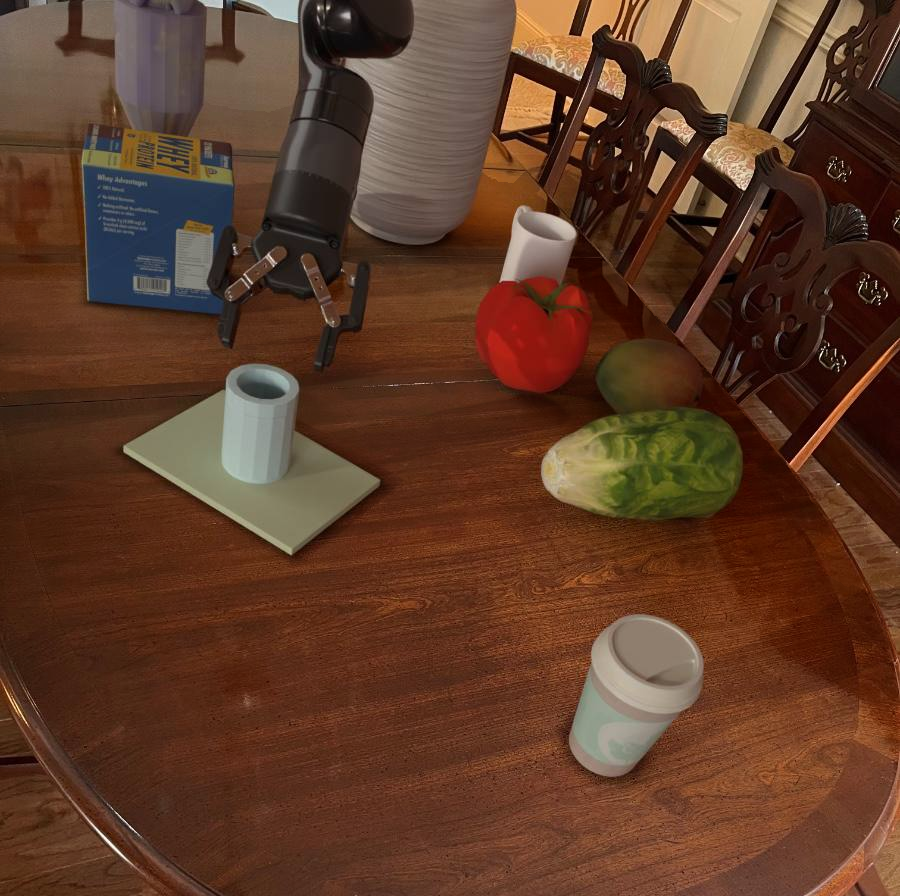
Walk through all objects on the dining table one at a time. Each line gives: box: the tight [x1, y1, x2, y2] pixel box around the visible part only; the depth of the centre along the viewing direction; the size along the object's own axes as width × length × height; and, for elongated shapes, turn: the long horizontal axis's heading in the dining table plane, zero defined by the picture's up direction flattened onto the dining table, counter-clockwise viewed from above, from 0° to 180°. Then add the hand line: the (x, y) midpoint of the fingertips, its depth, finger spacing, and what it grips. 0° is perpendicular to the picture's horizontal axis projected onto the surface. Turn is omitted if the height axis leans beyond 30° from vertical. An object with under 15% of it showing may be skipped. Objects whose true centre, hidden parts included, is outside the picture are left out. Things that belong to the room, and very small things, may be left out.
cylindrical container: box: [222, 363, 300, 484], centre depth 92 cm, size 6×6×9 cm
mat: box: [123, 389, 381, 556], centre depth 95 cm, size 20×14×1 cm
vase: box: [344, 0, 518, 246], centre depth 128 cm, size 20×20×34 cm
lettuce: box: [540, 407, 744, 522], centre depth 100 cm, size 12×21×11 cm, turn 109°
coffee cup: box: [568, 613, 705, 778], centre depth 76 cm, size 8×8×12 cm
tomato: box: [474, 276, 593, 394], centre depth 114 cm, size 13×14×12 cm
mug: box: [499, 205, 578, 286], centre depth 129 cm, size 12×8×10 cm, turn 19°
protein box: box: [80, 122, 236, 315], centre depth 109 cm, size 10×15×16 cm
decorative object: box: [113, 0, 208, 137], centre depth 119 cm, size 10×10×30 cm
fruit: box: [594, 338, 703, 414], centre depth 113 cm, size 12×13×10 cm
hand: (272, 358), depth 90 cm, fingers open, 8 cm apart
